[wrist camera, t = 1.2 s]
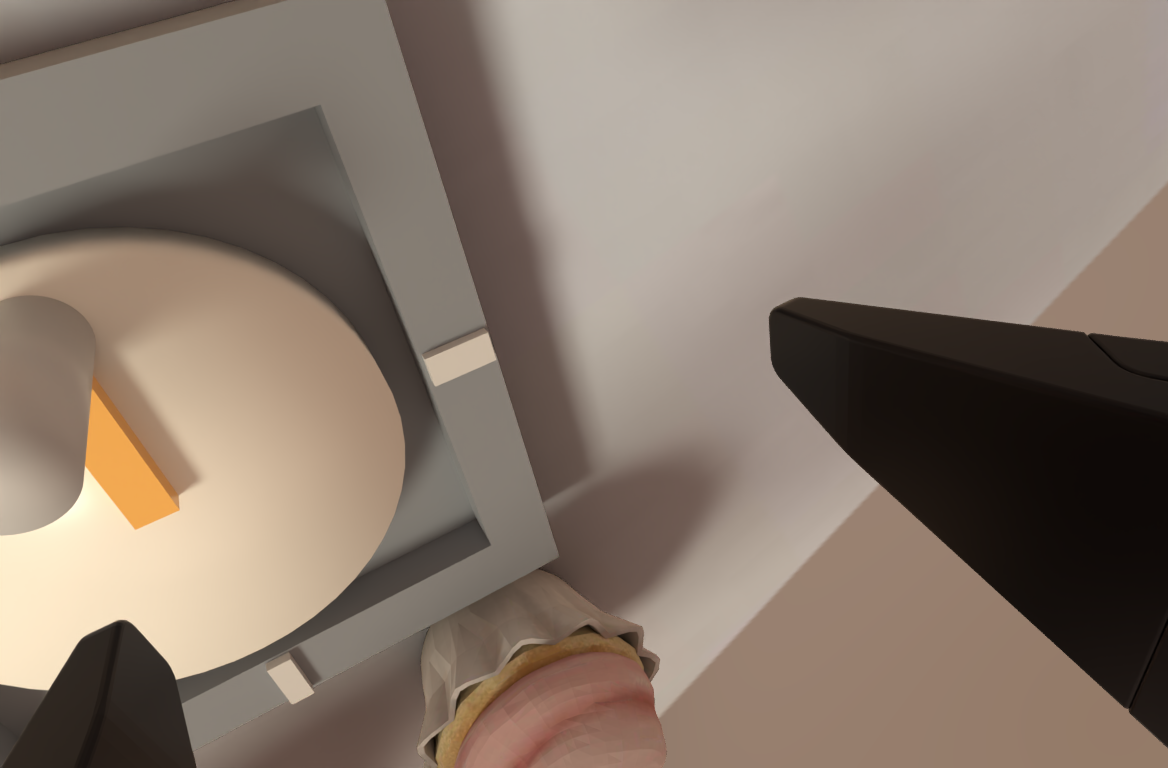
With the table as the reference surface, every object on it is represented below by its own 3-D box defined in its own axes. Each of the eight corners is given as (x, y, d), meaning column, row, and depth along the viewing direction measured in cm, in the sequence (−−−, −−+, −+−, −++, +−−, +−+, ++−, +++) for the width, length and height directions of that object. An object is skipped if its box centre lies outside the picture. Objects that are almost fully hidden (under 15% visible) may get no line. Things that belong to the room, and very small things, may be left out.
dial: (440, 513, 24) (523, 673, 19) (42, 708, 21) (12, 964, 16) (284, 151, 17) (349, 249, 12) (-349, 361, 14) (-626, 615, 9)
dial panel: (529, 511, 28) (564, 564, 26) (0, 780, 23) (-15, 873, 21) (350, -31, 17) (382, -24, 15) (-692, 253, 13) (-875, 327, 10)
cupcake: (583, 491, 29) (745, 696, 21) (613, 642, 34) (751, 849, 27) (342, 604, 26) (429, 886, 18) (416, 749, 31) (507, 1014, 24)
